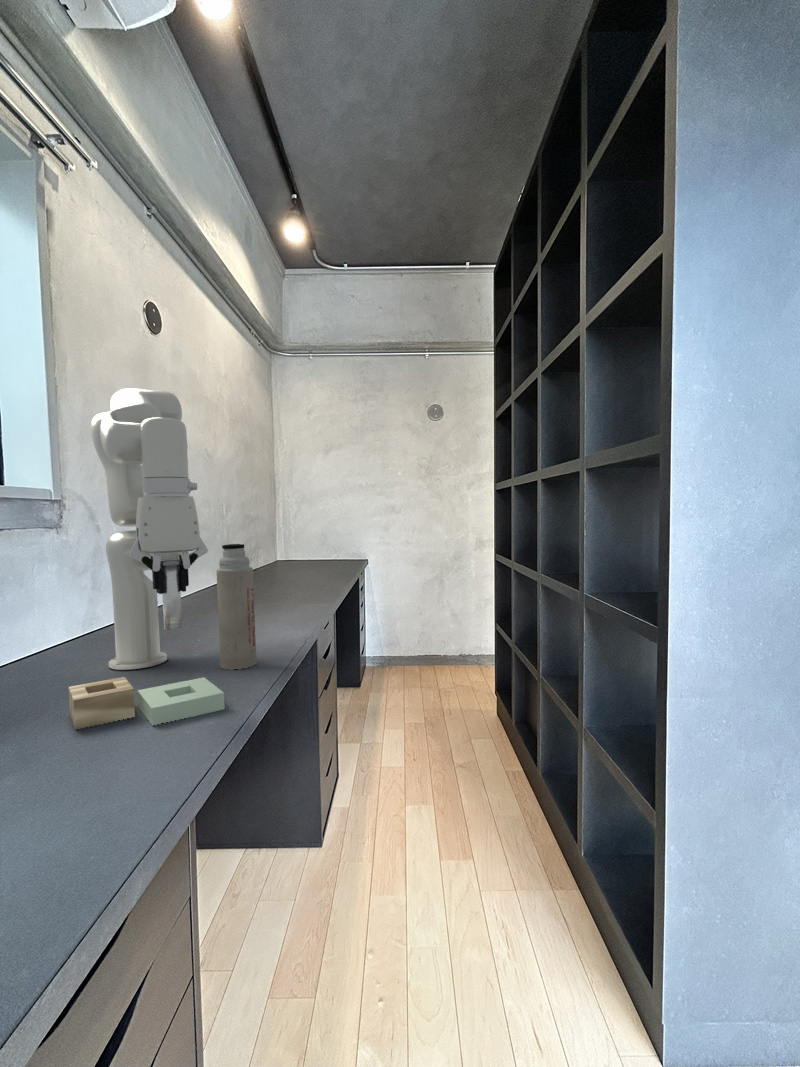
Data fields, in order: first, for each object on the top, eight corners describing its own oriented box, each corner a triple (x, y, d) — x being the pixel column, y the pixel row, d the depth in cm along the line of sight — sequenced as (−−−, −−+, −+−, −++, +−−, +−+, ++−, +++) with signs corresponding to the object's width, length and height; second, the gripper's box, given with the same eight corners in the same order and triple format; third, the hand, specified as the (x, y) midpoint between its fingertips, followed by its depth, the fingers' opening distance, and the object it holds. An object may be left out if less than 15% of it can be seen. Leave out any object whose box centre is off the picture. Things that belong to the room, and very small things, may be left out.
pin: (159, 628, 99) (156, 560, 99) (181, 625, 101) (178, 559, 101) (164, 631, 96) (160, 561, 96) (186, 628, 98) (183, 559, 98)
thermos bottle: (262, 660, 130) (257, 542, 129) (246, 670, 122) (241, 545, 121) (231, 659, 132) (226, 543, 131) (213, 669, 124) (208, 545, 123)
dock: (138, 706, 101) (137, 690, 101) (204, 692, 108) (204, 677, 108) (152, 726, 91) (151, 708, 91) (224, 709, 98) (223, 692, 98)
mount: (70, 714, 98) (68, 686, 97) (125, 703, 103) (124, 676, 103) (75, 730, 90) (73, 700, 90) (135, 717, 96) (133, 688, 95)
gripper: (207, 490, 105) (211, 585, 106) (112, 490, 96) (117, 594, 97) (219, 488, 99) (223, 589, 100) (118, 488, 90) (124, 599, 91)
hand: (171, 590), depth 98 cm, fingers closed on pin, 3 cm apart
